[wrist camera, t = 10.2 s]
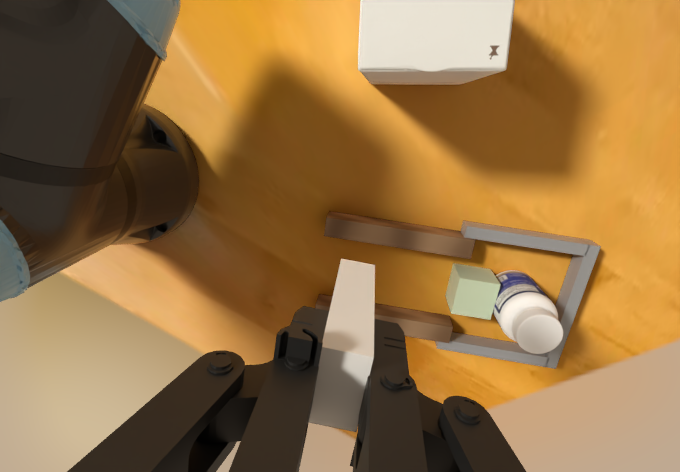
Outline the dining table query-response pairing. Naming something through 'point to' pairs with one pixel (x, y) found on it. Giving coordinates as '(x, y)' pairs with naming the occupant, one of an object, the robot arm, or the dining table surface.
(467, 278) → the chip cube
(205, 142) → the dining table surface
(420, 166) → the dining table surface
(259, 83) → the dining table surface
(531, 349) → the pill bottle
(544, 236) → the grey u-shaped frame
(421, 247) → the slot rails
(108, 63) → the robot arm
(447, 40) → the supplement box
